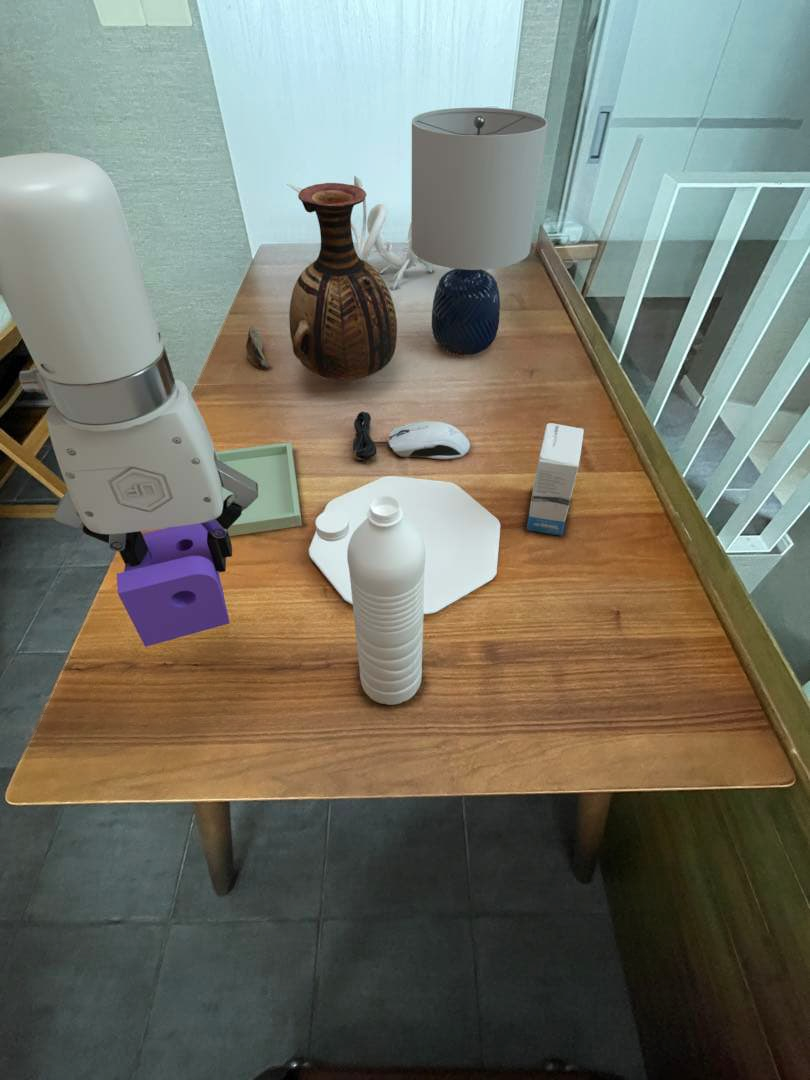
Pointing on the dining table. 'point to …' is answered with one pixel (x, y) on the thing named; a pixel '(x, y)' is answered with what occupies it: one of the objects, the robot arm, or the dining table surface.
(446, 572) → the plate
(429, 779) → the dining table surface
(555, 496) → the ink box
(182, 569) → the bracket
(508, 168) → the lamp
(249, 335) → the oyster shell
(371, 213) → the white dragon statue
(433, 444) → the computer mouse
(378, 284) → the vase
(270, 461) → the shallow tray
